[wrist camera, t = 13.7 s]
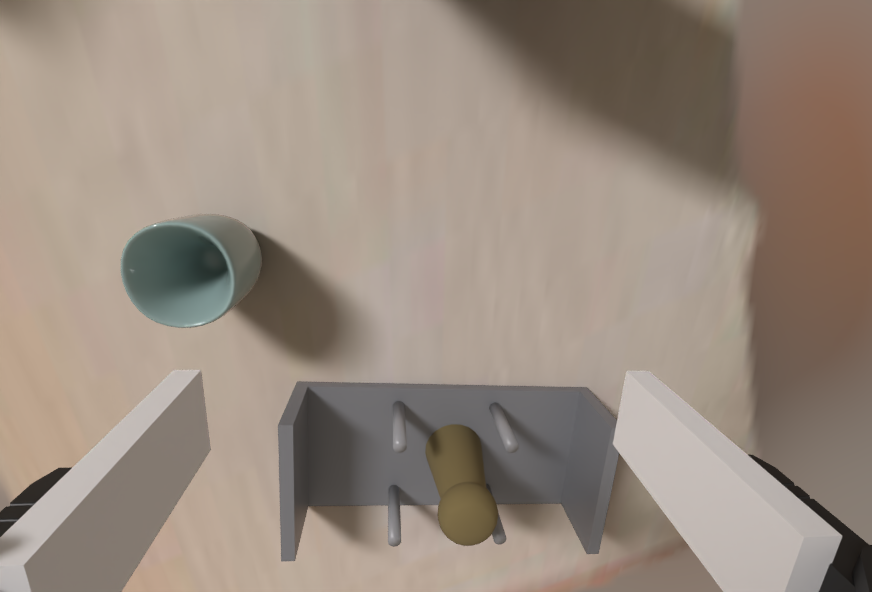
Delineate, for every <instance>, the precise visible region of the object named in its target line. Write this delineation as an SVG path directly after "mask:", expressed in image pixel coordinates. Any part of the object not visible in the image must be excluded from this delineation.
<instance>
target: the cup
mask: <svg viewBox="0 0 872 592" xmlns="http://www.w3.org/2000/svg"><path fill="white" fill-rule="evenodd" d="M261 267H262V253H261V249H260V245H259V243H258V241H257V238H256V237H255V235H254V234H253V232H252V231H251V230H250V229H249V228H248V227H247V226H246V225H245V224H244V223H242V222H240V221H239V220H237V219H234V218H231V217H228V216H224V215H218V214H196V215H190V216H184V217H178V218H173V219H169V220H165V221H161V222H158V223H155V224H152V225H149V226H147V227H145V228H143V229H142V230H140V231H138V232H137V233H135V234H134V235H133V236H132V237H131V238H130V239H129V240H128V242H127V244H126V246H125V248H124V249H123V253H122V257H121V275H122V281H123V284H124V287H125V289H126V292H127V294H128V296H129V297H130V299H131V301H132V302H133V304H134V305H135V306H136V307H137V309H138V310H139V311H140V312H142V313H143V314H144V315H145V316H146V317H148V318H149V319H151V320H153V321H155V322H157V323H160V324H163V325H166V326H171V327H178V328H191V327H197V326H203V325H205V324H208V323H211V322H214V321H216V320H217V319H219V318H221V317H222V316H224V315H225V314H227V313H228V312H229V311H230V310H231V309H233V308H234V307H235V306H236V305H237V304H238V303H239V302H240V301H241V300H242V299H243V298H244V297H245V296H246V295H247V294H248V293H249V292H250V291H251V290H252V288H253V287H254V285H255V284H256V282H257V280H258V278H259V275H260V272H261Z"/></svg>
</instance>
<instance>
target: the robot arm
mask: <svg viewBox="0 0 872 592" xmlns="http://www.w3.org/2000/svg"><path fill="white" fill-rule="evenodd" d="M613 445H614V447H615V448H616V449H617V451H618V452H619V453H620V455H621V456H622V457H623V459H624V460H625V461H626V463H627V464H628V465H629V467H630V468H631V469H632V471H633V472H634V473H635V475H636V476H637V477H638V479H639V480H640V481H641V483H642V484H643V485H644V487H645V488H646V489H647V491H648V492H649V493H650V495H651V496H652V497H653V499H654V500H655V501H656V503H657V504H658V505H659V507H660V508H661V509H662V511H663V512H664V513H665V515H666V516H667V517H668V519H669V520H670V521H671V523H672V524H673V525H674V527H675V528H676V529H677V531H678V532H679V533H680V535H681V536H682V537H683V539H684V540H685V541H686V543H687V544H688V545H689V547H690V548H691V549H692V551H693V552H694V553H695V555H696V556H697V557H698V559H699V560H700V561H701V563H702V564H703V565H704V567H705V568H706V569H707V571H708V572H709V573H710V574H711V576H712V577H713V579H714V580H715V581H716V583H717V584H718V585H719V587H720V588H721V589H722V591H723V592H872V545H869V544H867V543H866V542H865V541H864V540H863V539H861V538H860V537H859V536H858V535H856V534H855V533H854V532H853V531H851V530H850V529H849V528H848V527H847V526H846V525H844V524H843V523H842V522H841V521H840V520H838V519H837V518H836V517H835V516H834V515H832V514H831V513H830V512H829V511H827V510H826V509H825V508H824V507H823V506H821V505H820V504H819V503H818V502H817V501H815V500H814V499H810V497H809V495H808V494H807V493H805V492H804V491H803V490H802V489H801V488H800V487H798V486H795V485H794V483H793V482H792V481H791V480H790V479H789V478H787V477H786V476H785V475H784V474H782V473H781V472H780V471H779V470H778V469H776V468H775V467H773V466H772V465H770V464H768V463H766V462H764V461H763V460H761V459H759V458H757V457H755V456H754V455H747V454H746V453H745V452H744V451H742V450H741V449H740V448H739V447H738V446H737V445H735V444H734V443H733V442H732V441H731V440H729V439H728V438H727V437H726V436H725V435H724V434H722V433H721V432H720V431H719V430H718V429H717V428H715V427H714V426H713V425H712V424H711V423H710V422H708V421H707V420H706V419H705V418H704V417H703V416H701V415H700V414H699V413H698V412H697V411H696V410H694V409H693V408H692V407H691V406H690V405H688V404H687V403H686V402H685V401H684V400H683V399H681V398H680V397H679V396H678V395H677V394H676V393H674V392H673V391H672V390H671V389H670V388H669V387H667V386H666V385H665V384H664V383H663V382H662V381H660V380H659V379H658V378H657V377H656V376H654V375H653V374H652V373H651V372H650V371H626V376H625V381H624V386H623V392H622V397H621V402H620V408H619V413H618V419H617V424H616V429H615V435H614V440H613ZM210 450H211V448H210V440H209V431H208V423H207V415H206V407H205V398H204V390H203V382H202V374H201V370H173V371H172V372H171V373H170V374H169V375H168V376H167V377H166V378H165V379H164V380H163V381H162V382H161V383H160V384H159V385H158V386H157V387H156V388H155V389H154V390H152V391H151V392H150V393H149V394H148V395H147V396H146V397H145V398H144V399H143V400H142V401H141V402H140V403H139V404H138V405H137V406H136V407H135V408H134V409H133V410H132V411H131V412H130V413H129V414H128V415H127V416H126V417H124V418H123V419H122V420H121V421H120V422H119V423H118V424H117V425H116V426H115V427H114V428H113V429H112V430H111V431H110V432H109V433H108V434H107V435H106V436H105V437H104V438H103V439H102V440H101V441H100V442H99V443H98V444H96V445H95V446H94V447H93V448H92V449H91V450H90V451H89V452H88V453H87V454H86V455H85V456H84V457H83V458H82V459H81V460H80V461H79V462H78V463H77V464H76V465H75V466H74V467H73V468H58V469H56V470H54V471H53V472H51V473H49V474H48V475H46V476H44V477H42V478H41V479H39V480H37V481H36V482H34V483H32V484H31V485H30V486H29V487H27V488H26V489H25V490H24V491H23V492H22V493H21V494H20V495H19V496H17V497H16V498H15V499H14V500H13V501H12V502H11V503H10V506H9V507H5V508H4V509H3V510H2V511H1V512H0V592H121V591H122V590H123V588H124V587H125V585H126V583H127V582H128V580H129V579H130V577H131V576H132V574H133V572H134V571H135V569H136V568H137V566H138V564H139V563H140V561H141V560H142V558H143V556H144V555H145V553H146V552H147V550H148V549H149V547H150V545H151V544H152V542H153V541H154V539H155V537H156V536H157V534H158V533H159V531H160V529H161V528H162V526H163V525H164V523H165V522H166V520H167V518H168V517H169V515H170V514H171V512H172V510H173V509H174V507H175V506H176V504H177V503H178V501H179V499H180V498H181V496H182V495H183V493H184V491H185V490H186V488H187V487H188V485H189V483H190V482H191V480H192V479H193V477H194V476H195V474H196V472H197V471H198V469H199V468H200V466H201V464H202V463H203V461H204V460H205V458H206V456H207V455H208V453H209V452H210Z"/></svg>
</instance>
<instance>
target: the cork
mask: <svg viewBox="0 0 872 592" xmlns="http://www.w3.org/2000/svg"><path fill="white" fill-rule="evenodd" d="M425 454H426V458H427V461H428V464H429V467H430V470H431V473H432V476H433V478H434V481H435V484H436V487H437V490H438V493H439V496H440V499H441V500H440V502H439V506H438V520H439V524H440V527H441V529H442V531H443V533H444V534H445V535H446V536H447V538H449V539H450V540H452V541H453V542H455V543H456V544H460V545H464V546H469V545H475V544H479V543H481V542H483V541H485V540H486V539H487V538H488V537H489V536H490V535H491V534H492V533H493V531H494V529H495V527H496V525H497V521H498V509H497V504H496V501H495V499H494V497H493V496H492V494H491V493H490V492H489V490H488V489H487V488H486V482H485V473H484V464H483V455H482V446H481V442H480V438H479V437H478V435H477V434H476V432H475V431H473V430H472V429H471V428H469V427H467V426H464V425H459V424H451V425H447V426H443V427H441V428H440V429H438V430H436V431H435V432H434V433H433V434H432V435H431V436H430V437H429V439H428V441H427V444H426V449H425Z"/></svg>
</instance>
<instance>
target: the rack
mask: <svg viewBox="0 0 872 592" xmlns="http://www.w3.org/2000/svg"><path fill="white" fill-rule="evenodd" d="M451 424H459V425H464V426H467V427H469V428H471V429H472V430H473V431H475V432H476V434H477V435H478V437H479V438H480V442H481V446H482V455H483V464H484V473H485V482H486V488H487V489H488V490H489V492H490V493H491V494H492V496H493V497H494V499H495V501H496V504H558V503H561V504H562V506H563V508H564V510H565V512H566V514H567V516H568V518H569V520H570V522H571V524H572V526H573V528H574V530H575V532H576V534H577V536H578V538H579V539H580V541H581V543H582V545H583V547H584V549H585V551H586V553H587V554H599V549H600V544H601V539H602V534H603V530H604V525H605V520H606V515H607V510H608V505H609V500H610V496H611V491H612V486H613V481H614V476H615V471H616V466H617V462H618V457H619V452H618V451H617V449H616V448H615V447H614V445H613V440H614V435H615V429H616V424H617V420H616V419H615V418H614V417H613V416H612V414H611V413H610V412H609V411H608V410H607V409H606V408H605V407H604V406H603V404H602V403H601V402H600V401H599V400H598V399H597V398H596V397H595V396H594V395H593V393H592V392H591V391H590V390H589V389H588V388H585V387H536V386H486V385H437V384H387V383H338V382H297V383H296V385H295V388H294V390H293V392H292V395H291V397H290V399H289V402H288V404H287V406H286V408H285V411H284V413H283V415H282V418H281V420H280V422H279V424H278V441H279V483H280V525H281V561H295V559H296V554H297V550H298V546H299V542H300V538H301V534H302V530H303V526H304V521H305V517H306V513H307V509H308V506H367V505H388V543H389V545H390V546H398V545H399V544H400V543H401V521H400V505H439V502H440V500H441V499H440V496H439V493H438V490H437V487H436V484H435V481H434V478H433V476H432V473H431V470H430V467H429V464H428V461H427V458H426V454H425V449H426V444H427V441H428V439H429V437H430V436H431V435H432V434H433V433H434V432H435V431H436V430H438V429H440V428H441V427H443V426H447V425H451ZM492 536H493V539H494V542H495V543H496V544H503V543H504V542H505V541H506V536H505V532H504V529H503V526H502V523H501V520H500V517H499V513H498V521H497V525H496V527H495V529H494V531H493V533H492Z"/></svg>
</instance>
